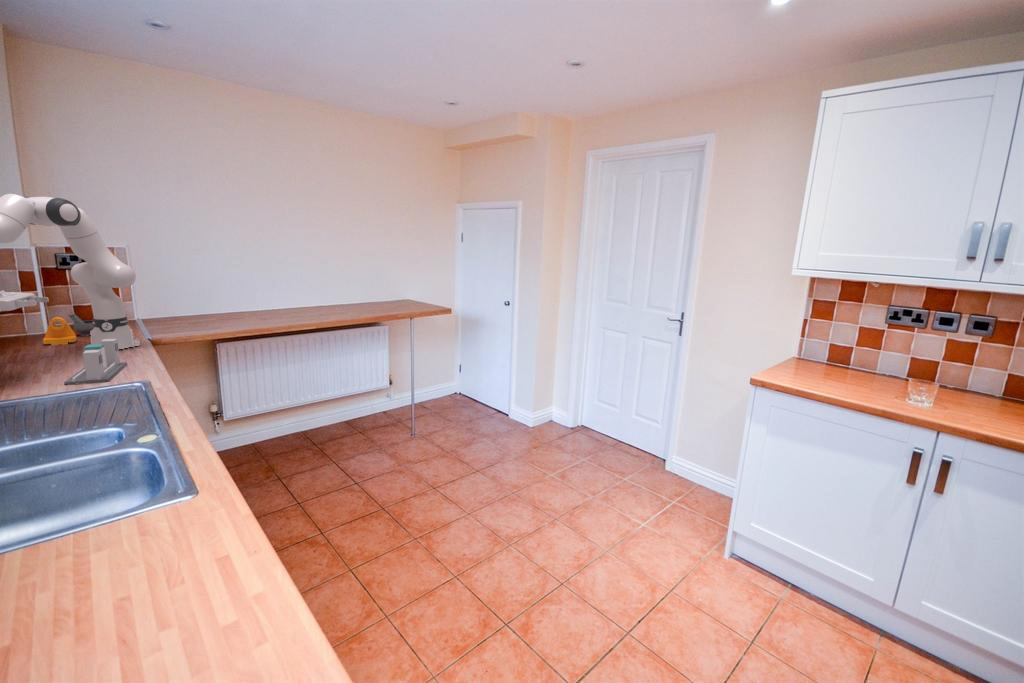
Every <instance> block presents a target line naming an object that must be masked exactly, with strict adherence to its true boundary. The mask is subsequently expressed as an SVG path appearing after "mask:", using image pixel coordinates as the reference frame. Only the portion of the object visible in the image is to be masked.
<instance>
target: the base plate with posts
mask: <svg viewBox="0 0 1024 683" xmlns="http://www.w3.org/2000/svg"><path fill="white" fill-rule="evenodd" d="M101 344H104V349H105V356H106V363H107V369H106V370H105V371H104V368H103V359H102V354H101V350H88V351H85V352H82V358H83V364H84V365H83V366H84V367H83V368H82V369H81V370H79V371H78V372H76V373H75V374H73V375H72V376H71V377H69V378H68V379H67V380H65V381H64V382H63V384H64V386H66V385H65V384H73V385H77V384H76V383H86V384H95V383H94V382H99V383H108V382H110V381H111V380H113V378H114V377H116V376H117V375H118V374H119V373H120V372H121V371H122V370H123V369H124V368H126V367H127V365H128V363H127V361H124V362H123V361H122V362H121V360H120V350H119V349H118V343H117V339H104V340H102V341H101Z"/></svg>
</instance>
